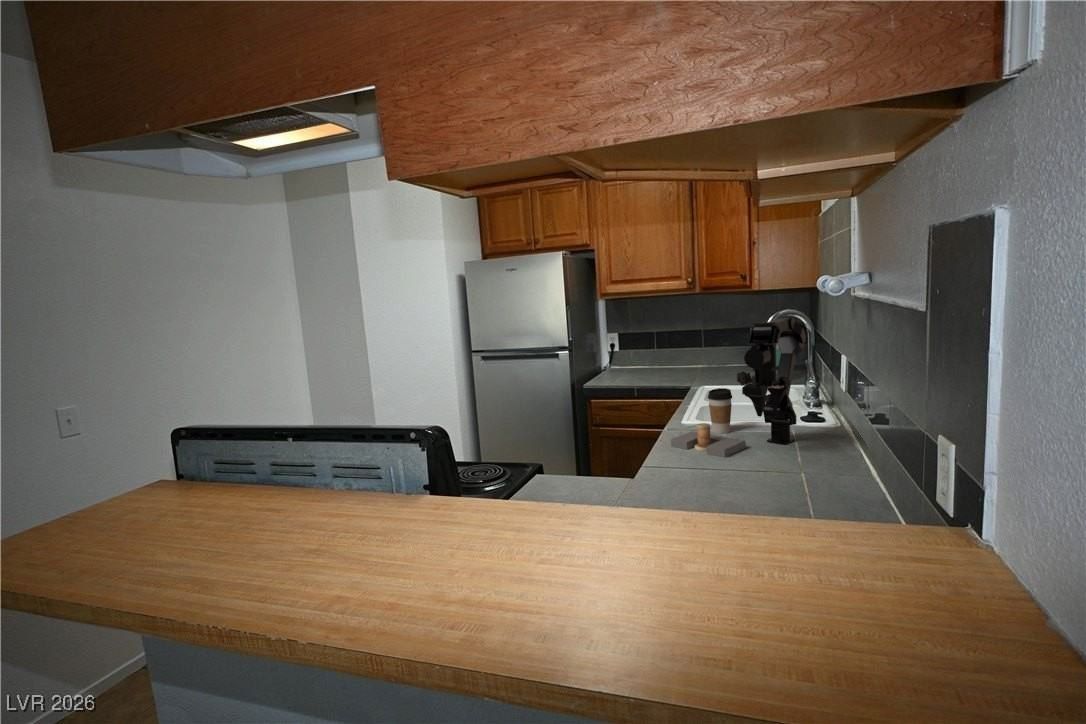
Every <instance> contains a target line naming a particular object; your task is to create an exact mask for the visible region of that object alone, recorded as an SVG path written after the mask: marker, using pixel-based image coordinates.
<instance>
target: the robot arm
mask: <svg viewBox="0 0 1086 724" xmlns="http://www.w3.org/2000/svg"><path fill="white" fill-rule="evenodd" d="M806 338H807V336H806V333H805V330H804V327H803V326H802V325H801V324H799V323H797V322H796V321H795V319H794V317H792V316H779V317H777V318H775V319H774V320H773V319H772V320H770V321H768V322H767V321H764V322H762V321H761V322H760V321H759V322H754V323H753V326H751V329H750V332H749V337H748V341H747V346H749V347H750V349H748V350H747V351H746V352H745V353H744V356H743V358H744V359H743V360H744V363H745V364H746V365H747V367H749V368H752V372H748V373H747V372H745V371H741V372H737V374H736V382H737V383H739V384H740V386H741V387H742V388H741V394H742V395H744V396H745V397H747V398H749V399H750V401H751V402H752V406H753V407H754V410H755V413H756V415H757V417H760V418H761V417H762V416H763V418H764V423H765V424H770V438H768V439H766V442H769V443H774V444H779V445H780V444H781V445H788V444H790V443H792V442H795V441H796V438H792V437H791V427H792V426H795V425H797V414H796V412H795V409H794V405H793V402H792V400H791V398H790V392H791V386H792V379H793V373H794V369H795V368H794V367H795V363H796V357H797V355H798V354H800V353H801V352H802V350H803V349H804V348H803V347H804V344H805V343H806V340H807V339H806ZM777 344H778V347H779V349H780V351H781V355H780V361H779V366H776V346H777ZM776 370H778V371H776ZM768 392H769V393H768Z"/></svg>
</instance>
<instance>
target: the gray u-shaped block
mask: <svg viewBox="0 0 1086 724" xmlns="http://www.w3.org/2000/svg"><path fill="white" fill-rule="evenodd" d="M710 440H711V445H708V446H707V452H706V454H708V455H712V456H717V457H722V458H728V457H729V456H731V455H733V454H736V453H738V452H740V451H742V450H744V449H746V447H747V446H746V445H747V444H746V440H744V439H739V438H733V437H728V436H722V435H715V434H711V433H710ZM696 444H698V436H697V431H690V432H686V433H684V434H681V435H678V436H675V437H673V438H671V439H670V447H673V448H677V449H682V450H690V449H693V448H695V445H696Z"/></svg>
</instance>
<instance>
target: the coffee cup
mask: <svg viewBox="0 0 1086 724" xmlns="http://www.w3.org/2000/svg"><path fill="white" fill-rule="evenodd" d="M707 399H708V402H709V403H708V408H709V414H710V416H709V417H710V422H711V431H712V433H713V434H720V435H722V434H729V433H730V432H731V417H732V405H733V404H732V399H733V394H732V391H731V389H730V388H725V387H723V388H722V387H720V388H715V389H714V388H713V389H711V390H709V391H708V394H707Z"/></svg>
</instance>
